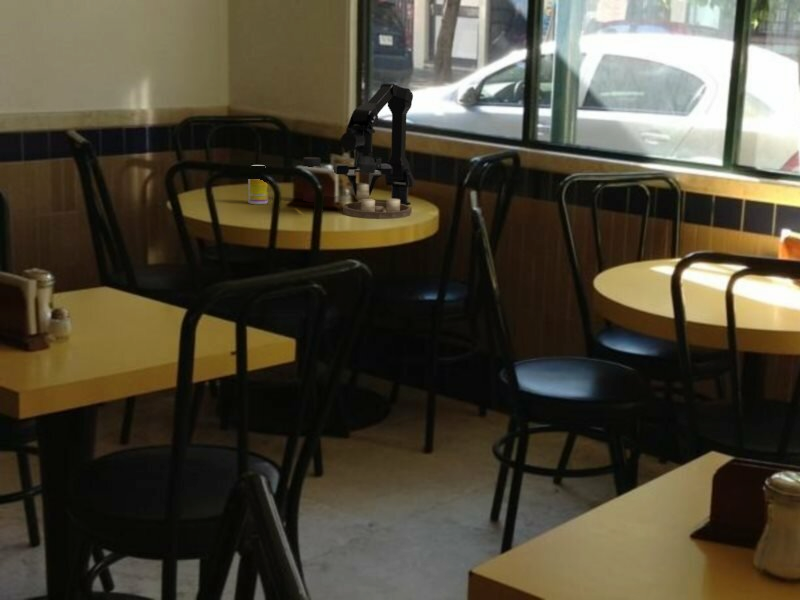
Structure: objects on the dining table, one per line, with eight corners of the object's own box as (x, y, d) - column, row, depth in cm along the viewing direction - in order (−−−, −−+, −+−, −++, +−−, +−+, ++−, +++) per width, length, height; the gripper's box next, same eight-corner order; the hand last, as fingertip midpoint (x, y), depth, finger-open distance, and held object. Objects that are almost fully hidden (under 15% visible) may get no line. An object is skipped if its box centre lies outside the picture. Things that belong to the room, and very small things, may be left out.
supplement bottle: (270, 204, 436) (270, 166, 433) (251, 205, 434) (251, 167, 431) (264, 201, 442) (265, 164, 439) (245, 202, 440) (246, 164, 437)
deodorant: (300, 200, 447) (301, 157, 444) (316, 199, 450) (317, 157, 446) (305, 203, 442) (306, 159, 439) (321, 202, 444) (322, 159, 441)
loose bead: (354, 197, 425) (354, 182, 424) (367, 197, 426) (367, 182, 425) (357, 200, 421) (357, 184, 420) (370, 199, 422) (370, 184, 421)
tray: (337, 210, 429) (337, 201, 429) (400, 209, 435) (401, 201, 434) (352, 221, 409) (352, 212, 408) (418, 220, 414) (419, 212, 414)
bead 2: (384, 213, 420) (385, 198, 419) (397, 213, 421) (398, 198, 420) (388, 216, 416) (388, 200, 415) (401, 215, 417) (401, 200, 416)
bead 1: (359, 214, 418) (360, 198, 417) (372, 214, 419) (373, 198, 418) (362, 216, 414) (363, 201, 413) (376, 216, 415) (376, 200, 414)
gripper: (340, 150, 410) (339, 199, 413) (397, 150, 415) (396, 198, 418) (333, 146, 420) (332, 194, 424) (388, 146, 425) (387, 193, 429)
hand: (362, 195), depth 423 cm, fingers closed on loose bead, 4 cm apart
